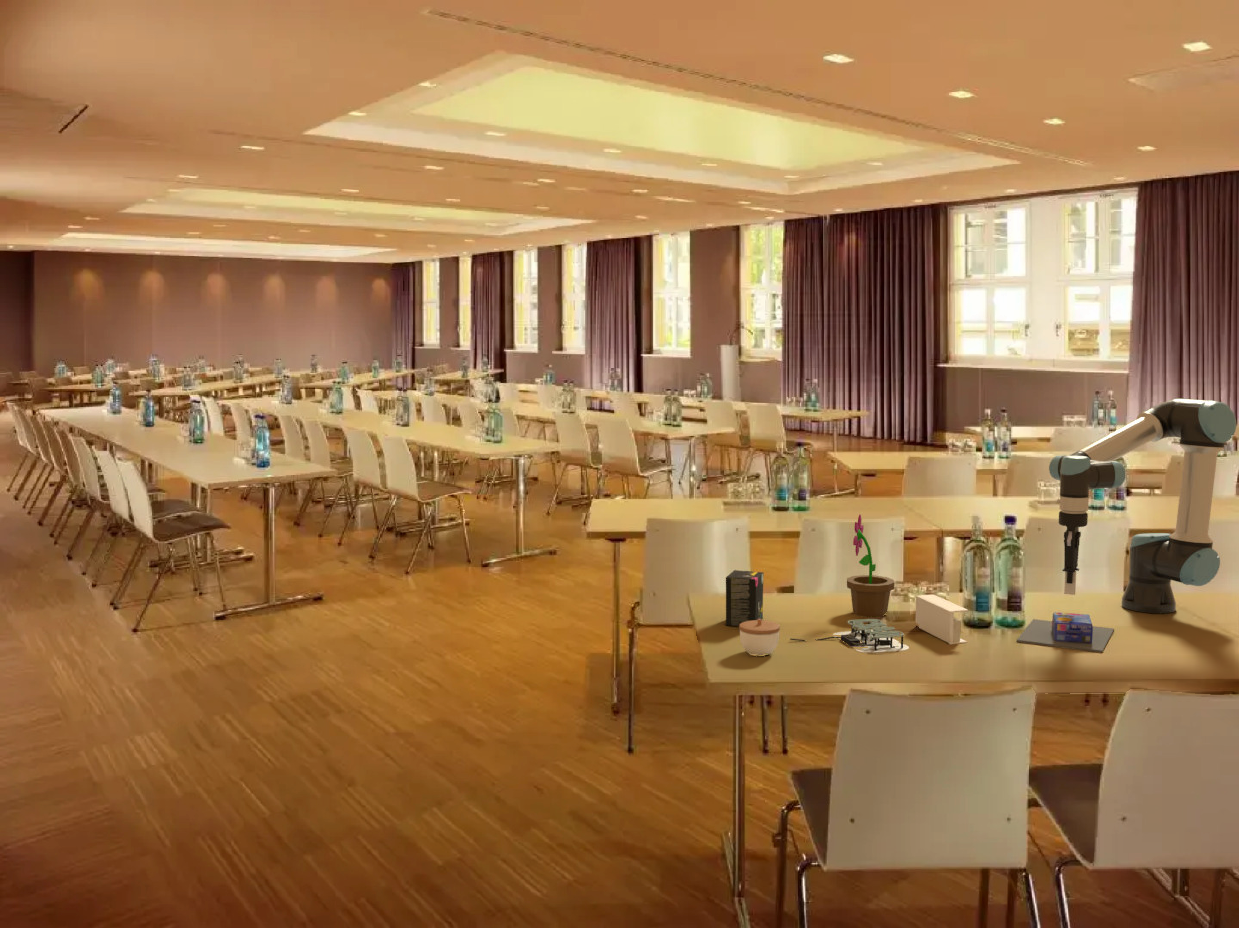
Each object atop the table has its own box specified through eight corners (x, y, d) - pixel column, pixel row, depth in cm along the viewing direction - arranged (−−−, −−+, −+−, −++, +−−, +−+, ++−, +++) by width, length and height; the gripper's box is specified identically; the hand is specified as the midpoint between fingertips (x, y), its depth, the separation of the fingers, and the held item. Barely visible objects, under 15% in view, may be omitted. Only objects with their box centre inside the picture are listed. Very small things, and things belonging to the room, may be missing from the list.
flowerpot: (851, 605, 357) (853, 510, 353) (898, 610, 351) (900, 513, 347) (840, 616, 344) (842, 518, 340) (888, 621, 338) (891, 521, 335)
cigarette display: (967, 643, 315) (968, 610, 314) (949, 644, 314) (950, 611, 313) (930, 624, 335) (931, 593, 333) (913, 626, 333) (913, 594, 332)
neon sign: (783, 623, 323) (879, 616, 329) (782, 638, 323) (878, 631, 330) (812, 643, 302) (914, 636, 309) (812, 659, 303) (913, 651, 309)
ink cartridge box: (1089, 613, 322) (1094, 627, 309) (1089, 632, 323) (1093, 647, 309) (1052, 610, 325) (1055, 625, 312) (1051, 629, 326) (1054, 644, 312)
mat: (1033, 621, 338) (1033, 619, 338) (1113, 630, 327) (1114, 628, 327) (1016, 641, 316) (1016, 639, 316) (1102, 652, 305) (1102, 650, 305)
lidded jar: (784, 658, 302) (785, 623, 301) (745, 660, 301) (745, 625, 299) (772, 646, 313) (773, 613, 312) (734, 648, 311) (734, 615, 310)
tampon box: (756, 628, 331) (756, 579, 329) (724, 626, 334) (725, 577, 332) (763, 619, 342) (764, 571, 340) (733, 616, 345) (733, 569, 343)
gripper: (1062, 506, 328) (1059, 587, 330) (1055, 513, 316) (1051, 597, 319) (1091, 508, 324) (1087, 590, 327) (1084, 515, 313) (1080, 600, 316)
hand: (1069, 593), depth 323 cm, fingers closed
